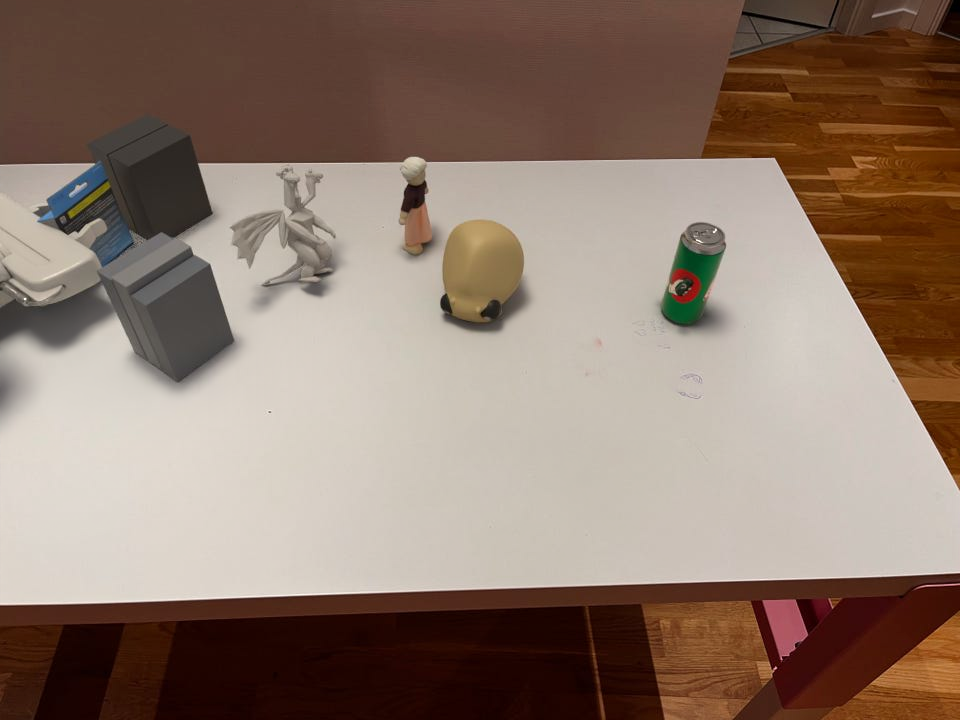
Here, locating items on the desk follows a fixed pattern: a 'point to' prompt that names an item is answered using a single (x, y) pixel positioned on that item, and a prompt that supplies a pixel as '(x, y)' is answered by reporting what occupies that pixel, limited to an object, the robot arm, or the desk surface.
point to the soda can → (693, 272)
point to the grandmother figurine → (415, 206)
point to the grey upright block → (168, 305)
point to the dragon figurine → (288, 229)
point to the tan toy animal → (480, 270)
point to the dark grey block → (153, 176)
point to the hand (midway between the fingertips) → (86, 212)
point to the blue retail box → (90, 212)
